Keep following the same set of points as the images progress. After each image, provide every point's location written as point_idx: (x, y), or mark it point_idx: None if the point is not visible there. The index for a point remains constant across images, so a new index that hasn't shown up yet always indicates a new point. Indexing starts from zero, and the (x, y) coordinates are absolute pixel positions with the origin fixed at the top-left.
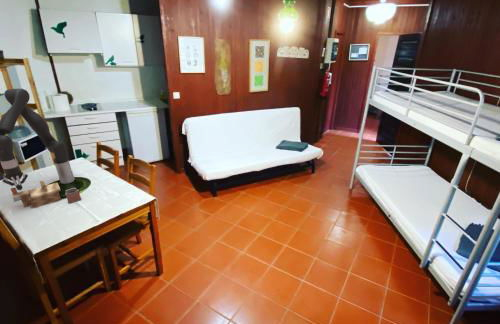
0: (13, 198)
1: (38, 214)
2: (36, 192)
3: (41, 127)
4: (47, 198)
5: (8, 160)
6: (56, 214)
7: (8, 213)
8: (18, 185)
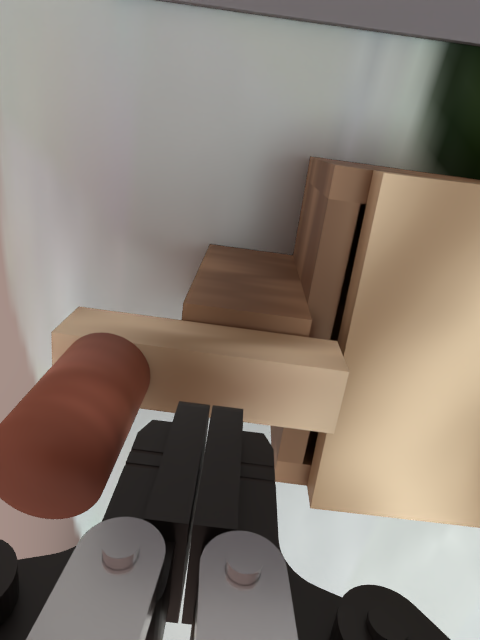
0: None
1: (281, 538)
2: (432, 411)
3: None
4: None
5: None
6: None
7: (44, 317)
8: (183, 622)
